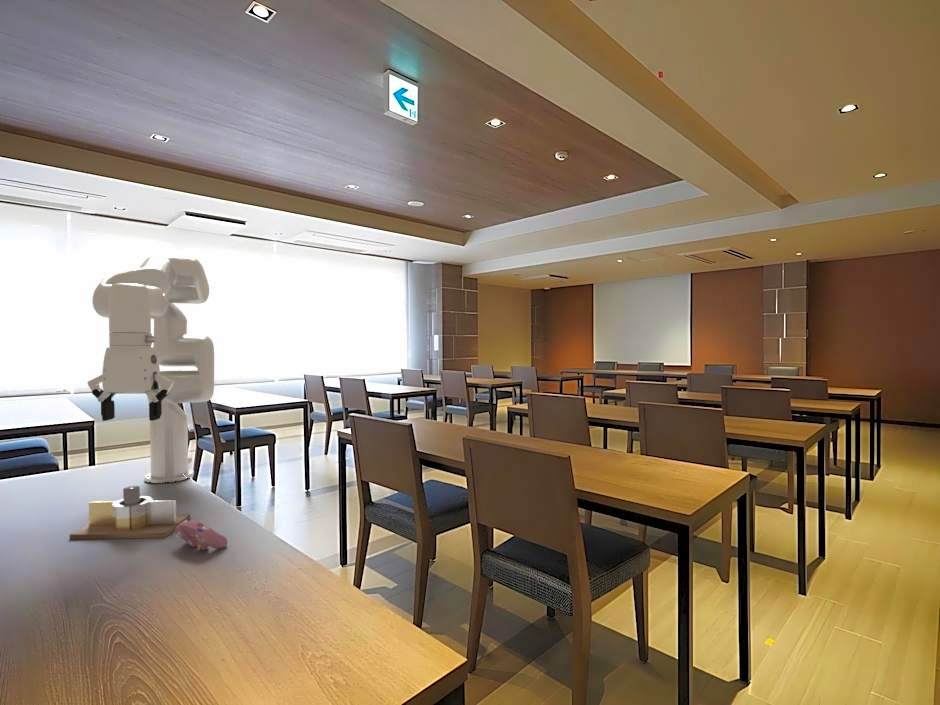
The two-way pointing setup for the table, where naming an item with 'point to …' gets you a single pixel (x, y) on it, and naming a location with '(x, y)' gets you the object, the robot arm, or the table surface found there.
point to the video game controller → (200, 535)
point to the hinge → (132, 513)
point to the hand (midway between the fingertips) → (131, 419)
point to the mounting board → (142, 532)
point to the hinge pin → (131, 495)
